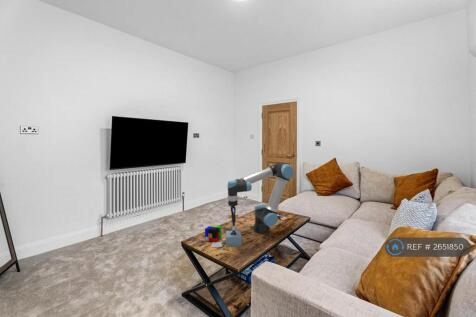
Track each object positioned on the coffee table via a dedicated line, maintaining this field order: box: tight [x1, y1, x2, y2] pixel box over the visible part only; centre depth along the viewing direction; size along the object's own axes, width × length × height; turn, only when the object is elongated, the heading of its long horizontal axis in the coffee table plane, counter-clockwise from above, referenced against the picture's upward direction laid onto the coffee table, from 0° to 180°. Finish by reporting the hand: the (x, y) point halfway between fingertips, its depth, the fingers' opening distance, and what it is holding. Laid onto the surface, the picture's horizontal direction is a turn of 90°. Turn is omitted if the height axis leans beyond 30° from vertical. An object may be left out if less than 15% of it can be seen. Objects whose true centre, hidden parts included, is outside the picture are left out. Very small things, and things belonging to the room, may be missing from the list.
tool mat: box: [211, 241, 223, 249], centre depth 175 cm, size 8×8×1 cm
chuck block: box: [221, 229, 243, 247], centre depth 178 cm, size 16×12×8 cm
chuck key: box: [227, 214, 239, 235], centre depth 177 cm, size 3×8×16 cm, turn 95°
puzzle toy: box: [204, 224, 223, 243], centre depth 185 cm, size 10×10×10 cm
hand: (233, 228), depth 178 cm, fingers closed on chuck key, 3 cm apart
